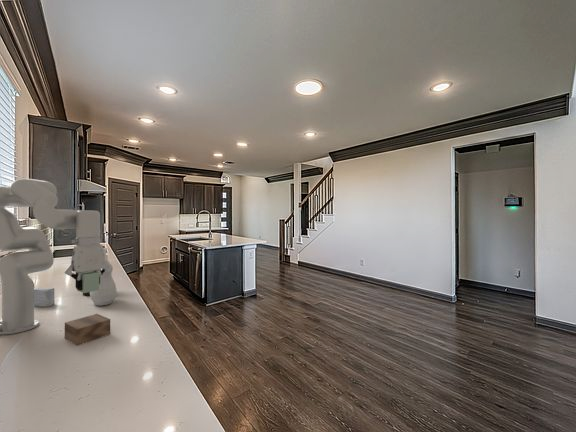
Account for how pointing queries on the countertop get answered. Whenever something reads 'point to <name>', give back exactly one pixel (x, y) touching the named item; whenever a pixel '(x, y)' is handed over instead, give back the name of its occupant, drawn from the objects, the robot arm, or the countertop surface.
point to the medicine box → (44, 297)
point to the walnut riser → (87, 329)
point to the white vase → (105, 287)
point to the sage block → (90, 281)
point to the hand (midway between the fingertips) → (88, 287)
